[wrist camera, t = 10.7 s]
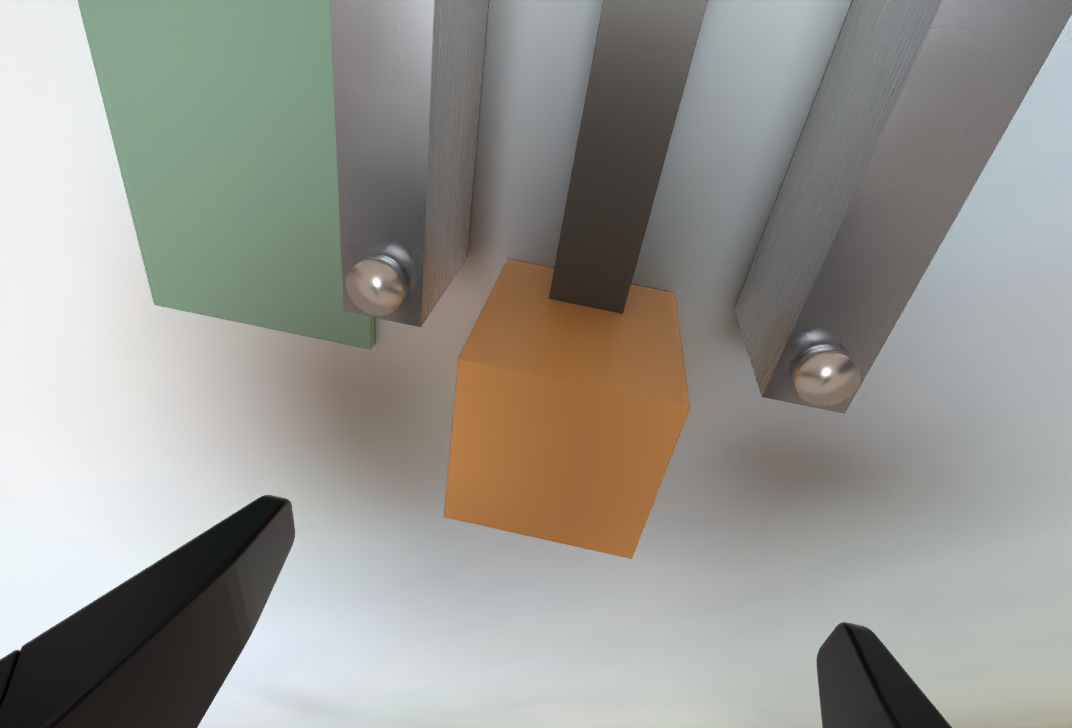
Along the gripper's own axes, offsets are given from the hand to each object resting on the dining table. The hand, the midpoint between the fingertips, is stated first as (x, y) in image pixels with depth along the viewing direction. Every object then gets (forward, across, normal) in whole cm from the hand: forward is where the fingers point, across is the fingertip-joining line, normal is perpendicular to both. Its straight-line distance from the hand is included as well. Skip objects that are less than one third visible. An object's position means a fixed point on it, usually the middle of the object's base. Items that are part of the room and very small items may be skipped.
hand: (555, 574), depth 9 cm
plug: (+6, 0, -4) cm, 8 cm away
